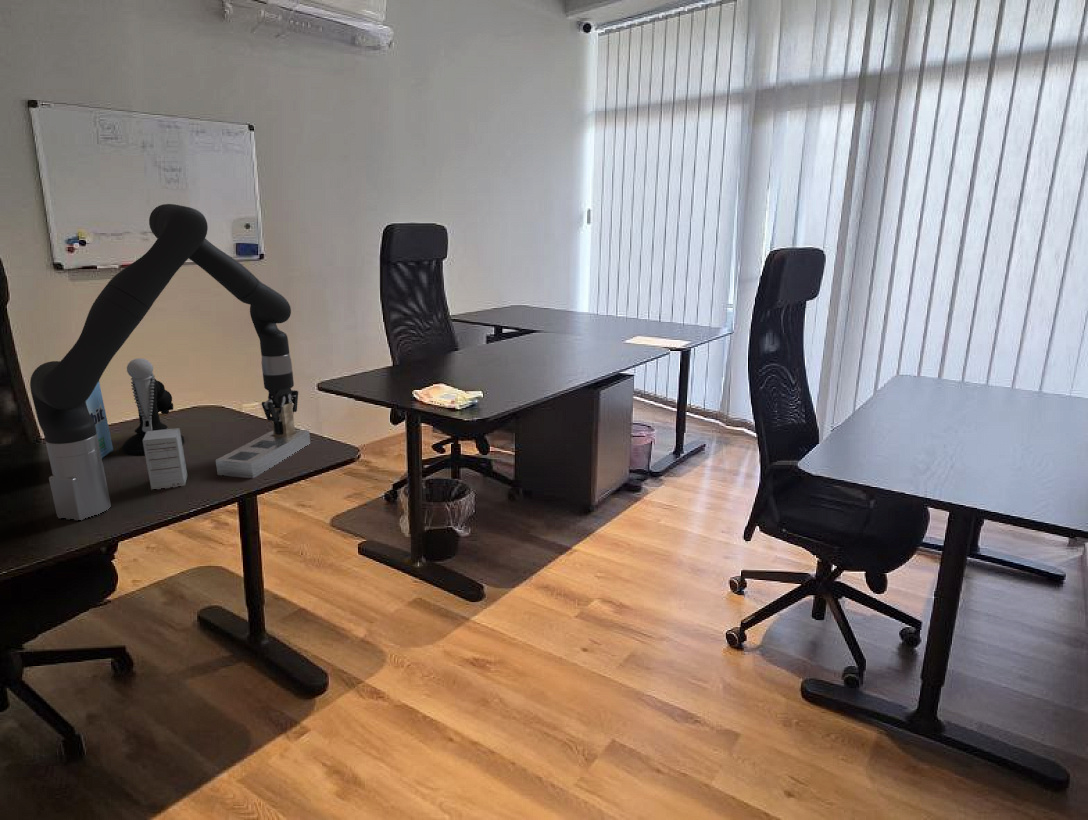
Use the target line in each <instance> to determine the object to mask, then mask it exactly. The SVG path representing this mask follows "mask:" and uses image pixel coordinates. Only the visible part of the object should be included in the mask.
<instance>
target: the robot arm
mask: <svg viewBox="0 0 1088 820" xmlns="http://www.w3.org/2000/svg"><path fill="white" fill-rule="evenodd" d="M148 218H149V219H148V224H149V228H150V231H151V232H152V234H153V235H154V236H155V238H156V241H155V242H154V243H153V244H152V245H151V246H150V248H149V249H148V250H147V251H146V252H145V253H144V254H143V255H142V256H140V257H139V258H138V259H137V260H135V261H133V262H132V263H131V264H128V265H127V266H126V267H125V268H123V269H122V270H120V271H119V272H118V273H117V274H115V275H114V276H113V277H111V279H110V280H109V281H108V282H107V283H106V285H105V286H104V288H103V289H102V290H101V291H100V293H99V294H98V295H97V297H96V298H95V300H94V301H93V302H92V304H91V307H90V309H89V311H88V314H87V316H86V319H85V322H84V324H83V325H84V326H83V327H82V330H81V332H80V335H79V337H78V338H77V340H76V342H75V343H74V344H73V346H72V347H71V349H70V350H69V351H68V352H67V353H66V354H65V355H64V357H62V359H61V360H60V361H58V360H52V361H48V362H44V363H42V364H40V365H39V366H37V367H36V368H35V369H34V371H33V372H32V373H31V375H30V381H29V386H30V392H31V393H30V394H31V398H32V402H33V407H34V409H35V414H36V419H37V421H38V424H39V427H40V429H41V431H42V433H43V437H44V441H45V444H46V445H45V446H46V451H47V454H48V455H47V456H48V460H49V463H50V465H49V466H50V469H51V473H52V475H51V476H49V477H48V480H49V486H50V489H51V495H52V499H53V503H54V508H55V512H56V517H58V518H57V519H61V518H66V519H65V520H70V519H74V520H73V521H78V520H81V521H83V520H86V519H88V517H90V518H92V517H91V516H93V517H95V516H94V515H97V516H99V515H101V514H100V513H102V512H104V511H106V510H107V511H109V510H110V509H111V508H110V507H112V506H111V505H112V504H111V498H110V495H109V494H110V493H109V489H108V484H107V479H106V473H105V468H104V463H103V458H102V457H101V452H100V447H99V442H98V437H97V432H96V426H95V423H94V421H93V419H92V417H91V415H90V413H89V411H88V409H87V405H86V400H87V399H88V398H89V397H90V395H91V394H92V392H93V390H94V388H95V387H96V385H97V383H98V381H99V382H100V379H101V377H102V376H103V374H104V372H105V371H106V369H107V368H108V366H109V364H110V363H111V361H112V359H113V358H114V356H115V355H116V354H117V353H118V351H120V349H121V348H122V346H123V345H124V344H125V342H126V341H127V340H128V338H130V336H131V335H132V333H133V332H134V330H135V329H136V328H137V326H138V325H139V324H140V323H141V321H142V320H143V319H144V317H145V316H146V315H147V313H149V310H150V309H151V307H152V306H153V304H155V302H156V300H157V299H158V298H159V296H160V295H161V294H162V292H163V291H164V289H166V286H168V284H169V282H170V281H171V279H172V278H173V277H174V276H175V274H176V273H177V272H178V271H179V270H180V269H181V268H182V266H183V265H184V264H185V263H186V262H187V261H188V259H189V260H190V261H192V262H193V263H194V264H196V265H197V266H198V267H199V268H201V269H202V270H203V271H205V272H206V273H207V274H208V275H209V276H211V277H212V278H213V279H214V280H215V281H216V282H217V283H219V284H220V285H221V286H222V287H223V288H225V289H226V290H227V291H228V292H229V293H230V294H231V295H233V297H235V298H236V300H239V302H242V303H244V304H247V305H250V306H249V315H250V319H251V321H252V324H253V327H254V329H255V332H256V334H257V337H258V339H259V345H260V347H259V348H260V355H261V362H260V363H261V370H262V379H263V387H264V389H265V390H266V391H268V396H267V400H266V401H262V402H261V406H262V409H263V413H264V415H265V417H266V421H268V422H272V421H273V423H274V431H275V434H277V435H282V434H283V433H284V432H283V424H282V413H283V406H284V405H285V404H287V403H289V404H290V403H292V407H293V415H294V413H296V412H297V411H298V400H299V391H298V390H295V389H294V390H293V389H292V388H294V386H295V382H294V374H293V365H292V364H293V363H292V358H291V354H290V346H289V339H288V334H287V333H285V332H284V331H282V330H281V329H280V328H279V327H278V324H283V323H285V322H287V321H288V320H289V319H290V317H291V315H292V308H291V305H290V303H289V301H288V300H287V299H286V298H285V296H284V295H282V294H280V293H279V292H277V291H276V290H274V289H273V288H272V287H270V286H268V285H266V284H265V283H263V282H262V281H260V280H259V279H258V277H256V276H255V275H254V274H253V273H252V272H251V271H250V270H249V269H248V268H246V267H245V266H244V265H243V264H242V263H241V262H239V261H237V260H236V259H235V258H233V257H232V256H230V255H228V253H226V252H224V251H223V250H221V249H219V248H218V246H215V245H214V244H213V243H211V241H209V240H207V235H208V228H209V227H208V221H207V218H206V217H205V215H204V214H203V213H202V212H200V211H199V210H197V209H196V208H193V207H189V206H186V205H180V204H174V203H173V204H172V203H166V204H165V203H164V204H160V205H157V206H156V207H155V208H154V209H153V210H152V211H151V213H150V214H149V217H148ZM274 408H280V410H275V409H274ZM276 413H278V417H277V414H276ZM271 415H272V416H271ZM109 508H110V509H109ZM108 509H109V510H108ZM107 511H106V512H107ZM104 513H105V512H104ZM98 514H99V515H98ZM102 514H103V513H102ZM85 518H86V519H85Z"/></svg>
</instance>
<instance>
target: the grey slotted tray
mask: <svg viewBox="0 0 1088 820" xmlns="http://www.w3.org/2000/svg"><path fill="white" fill-rule="evenodd" d="M309 444H310V445H311V435H310V430H309V429H308V430H306V429H295V434H294V435H292V436H290V437H288V438H286V437H274V433H273V430H271V431H269V432H267V433H265V434H263V435H261V436H259V437H258V438H255V439H254V440H252V441H250V442H248V443H247V442H246V444H244V445H241V446H240V447H238V448H236V449H234V450H232V451H231V452H229V453H226V454H224V455H222V456H220V457H219V458H217V459H215V465H216V472H217V476H222V475H224V477H233V478H234V477H235V478H246V479H255V478H256V477H258V476H260V475H261V474H263V473H265V472H266V471H268V470H270V469H271V468H273V467H275V466H277V465H278V464H280V463H281V462H283V461H285V460H286V459H288V458H290V457H292V456H293V455H295V454H296V453H298V452H300V451H301V450H300V449H302V448H303V449H305V448H306V447H305V446H307V445H308V446H309ZM308 446H307V447H308ZM304 447H305V448H304ZM303 449H302V450H303ZM299 450H300V451H299ZM297 451H298V452H297ZM295 452H296V453H295ZM294 453H295V454H294ZM292 454H293V455H292ZM289 456H290V457H289ZM287 457H288V458H287ZM284 459H285V460H284ZM282 460H283V461H282ZM279 462H280V463H279ZM274 465H275V466H274ZM269 468H270V469H269ZM264 471H265V472H264Z"/></svg>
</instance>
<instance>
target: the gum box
mask: <svg viewBox="0 0 1088 820" xmlns="http://www.w3.org/2000/svg"><path fill="white" fill-rule="evenodd" d="M102 393H103V392H102V388H101V384H100V380H99V381H98V383H97V385H96V387H95V388H94V390H93V392H92V394H91V395H90V397H89V398H88V399H87V400H86V405H87V409H88V411H89V413H90V415H91V417H92V419H93V421H94V423H95V426H96V432H97V437H98V442H99V447H100V452H101V457H102V459H104V457H105V456H107V455H108V454H109V453H111V452H113V451H114V447H113V443H112V438H111V433H110V428H109V423H108V418H107V414H106V409H105V404H104V399H103V394H102Z"/></svg>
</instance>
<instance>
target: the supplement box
mask: <svg viewBox="0 0 1088 820" xmlns="http://www.w3.org/2000/svg"><path fill="white" fill-rule="evenodd" d="M181 436H182V434H181V429H180V427H178V428H176V427H175V428H167V429H164V430H155V431H147V432H146V434H145V436H144V438H143V440H142V441H143V446H144V452H145V455H144V457H145V463H146V468H147V469H146V470H147V473H148V479H149V484H150V490H151V491H153V490H152V489H157V490H162V489H161V488H165V489H171V488H170V487H173V488H179V487H178V486H181V487H185V486H186V482H187V478H188V471H187V465H186V459H185V458H186V457H185V454H184V453H185V452H184V446H183V445H182V440H181Z"/></svg>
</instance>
